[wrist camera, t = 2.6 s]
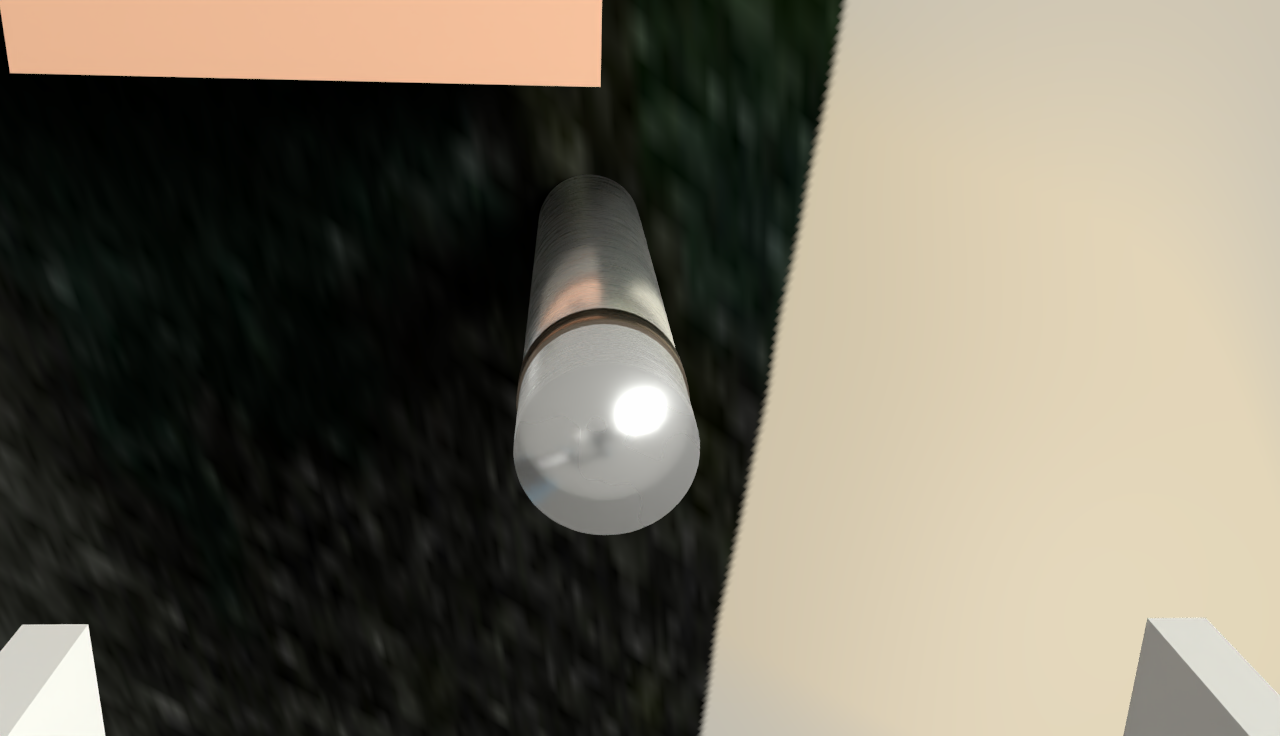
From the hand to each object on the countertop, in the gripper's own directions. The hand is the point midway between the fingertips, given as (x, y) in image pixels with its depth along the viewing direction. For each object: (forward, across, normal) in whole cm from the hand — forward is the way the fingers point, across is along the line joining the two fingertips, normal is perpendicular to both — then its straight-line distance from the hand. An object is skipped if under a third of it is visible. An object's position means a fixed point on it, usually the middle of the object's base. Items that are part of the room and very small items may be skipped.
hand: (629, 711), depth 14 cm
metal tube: (+28, 0, 0) cm, 28 cm away
